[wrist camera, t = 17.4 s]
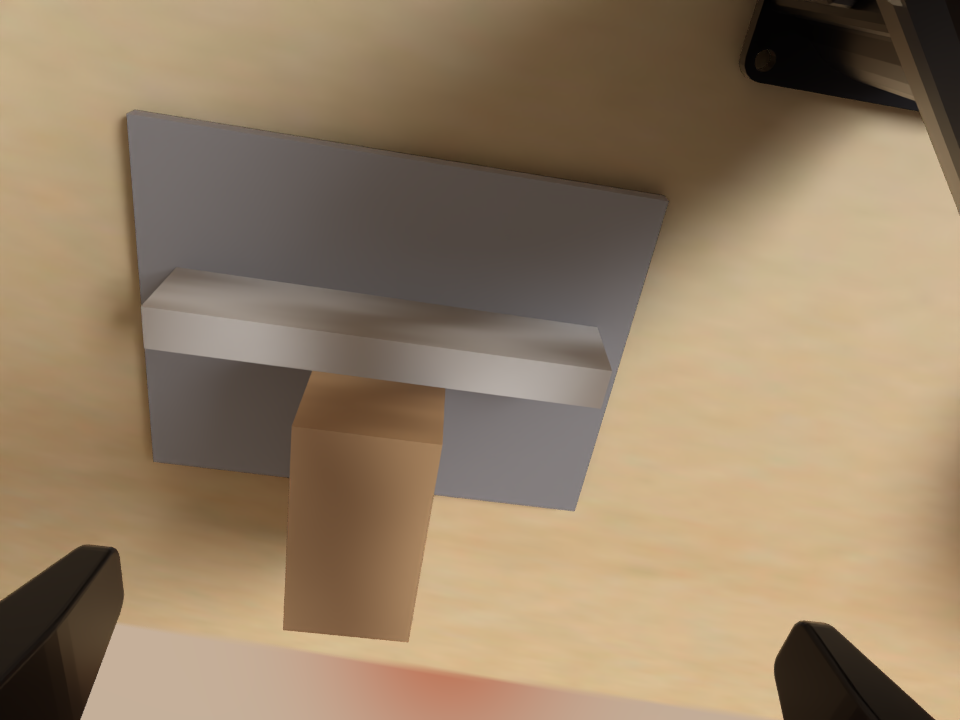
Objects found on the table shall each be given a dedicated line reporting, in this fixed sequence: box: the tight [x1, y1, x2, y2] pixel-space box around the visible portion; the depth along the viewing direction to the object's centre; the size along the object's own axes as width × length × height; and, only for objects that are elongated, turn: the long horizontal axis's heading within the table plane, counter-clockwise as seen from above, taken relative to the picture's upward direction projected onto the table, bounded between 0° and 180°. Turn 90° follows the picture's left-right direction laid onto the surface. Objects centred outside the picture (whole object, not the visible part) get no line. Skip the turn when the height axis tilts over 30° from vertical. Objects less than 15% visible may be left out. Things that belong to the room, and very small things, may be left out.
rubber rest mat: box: [126, 110, 669, 511], centre depth 21 cm, size 14×11×1 cm
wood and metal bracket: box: [141, 267, 612, 642], centre depth 20 cm, size 12×8×5 cm
